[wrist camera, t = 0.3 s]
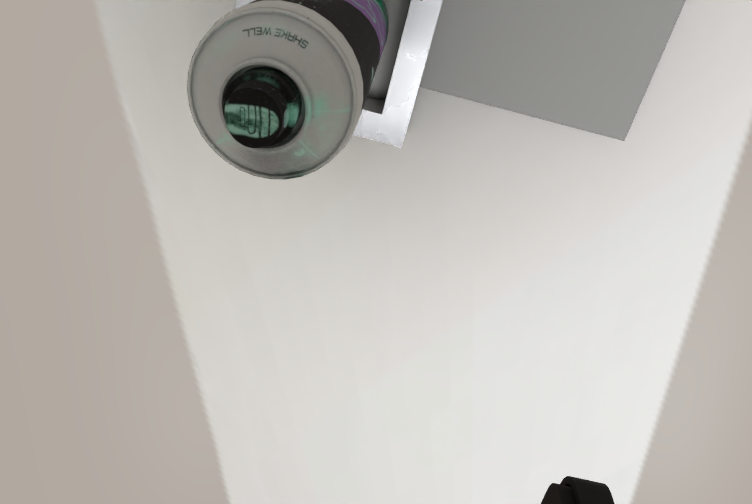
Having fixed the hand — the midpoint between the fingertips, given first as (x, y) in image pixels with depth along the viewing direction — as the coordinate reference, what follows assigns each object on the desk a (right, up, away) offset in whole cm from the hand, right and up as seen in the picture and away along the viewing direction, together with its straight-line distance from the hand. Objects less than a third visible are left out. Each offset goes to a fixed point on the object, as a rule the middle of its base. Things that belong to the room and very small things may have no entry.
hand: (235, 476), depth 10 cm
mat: (+12, +17, +25) cm, 32 cm away
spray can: (0, +16, +26) cm, 31 cm away
